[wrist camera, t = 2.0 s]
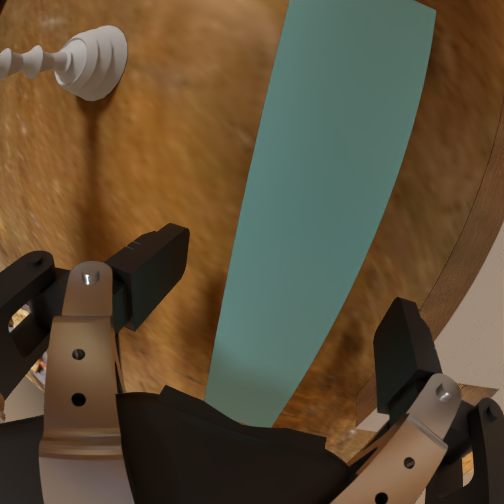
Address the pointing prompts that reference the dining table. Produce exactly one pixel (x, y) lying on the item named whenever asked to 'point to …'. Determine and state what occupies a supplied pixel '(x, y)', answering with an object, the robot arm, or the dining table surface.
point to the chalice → (76, 62)
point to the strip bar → (315, 191)
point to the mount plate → (466, 302)
